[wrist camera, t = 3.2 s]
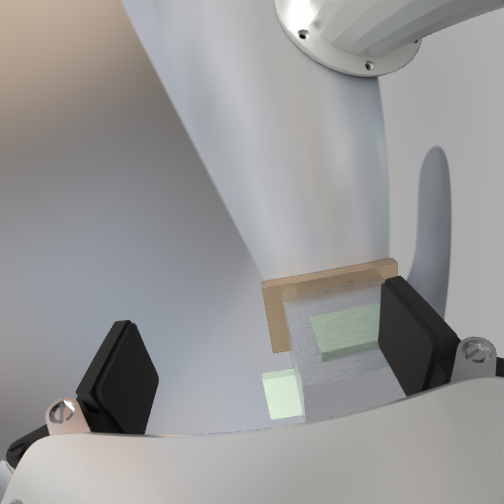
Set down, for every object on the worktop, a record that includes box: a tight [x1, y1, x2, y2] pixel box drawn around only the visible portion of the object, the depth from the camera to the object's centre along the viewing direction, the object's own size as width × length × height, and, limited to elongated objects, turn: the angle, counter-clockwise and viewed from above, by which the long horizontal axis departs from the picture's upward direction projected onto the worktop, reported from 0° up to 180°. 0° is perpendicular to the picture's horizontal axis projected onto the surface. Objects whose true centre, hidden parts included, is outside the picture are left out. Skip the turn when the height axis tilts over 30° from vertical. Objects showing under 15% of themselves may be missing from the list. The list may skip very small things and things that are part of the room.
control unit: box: [261, 258, 406, 422], centre depth 22 cm, size 7×12×12 cm, turn 100°
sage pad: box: [262, 368, 303, 420], centre depth 30 cm, size 7×7×1 cm
